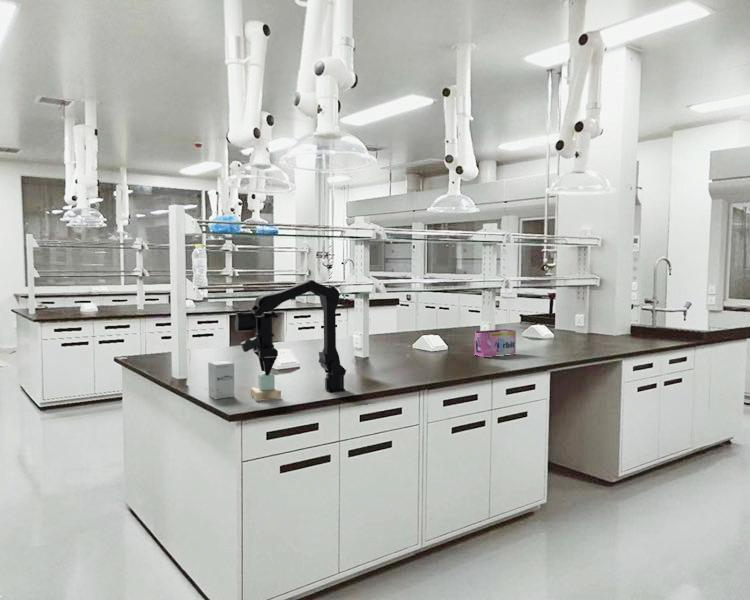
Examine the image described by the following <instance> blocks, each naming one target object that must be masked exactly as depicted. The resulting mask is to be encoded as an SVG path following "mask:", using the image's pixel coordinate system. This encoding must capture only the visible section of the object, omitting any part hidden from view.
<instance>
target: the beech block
mask: <svg viewBox="0 0 750 600" xmlns="http://www.w3.org/2000/svg"><path fill="white" fill-rule="evenodd" d="M251 396H252V397H253V398H254V399H255V400H254V399H253V398H252V397H251ZM250 397H251V398H252V399H253V400H254V402H262V401H261V400H265V401H273V400H272V399H276V400H281V399H282V390H281V389H279V388H278V387H277V386H276V385H275V390H262V391H261V390H260V389H259V386H257V387H256V386H255V387H254V386H253V387H250Z"/></svg>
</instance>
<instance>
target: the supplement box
mask: <svg viewBox="0 0 750 600" xmlns="http://www.w3.org/2000/svg"><path fill="white" fill-rule="evenodd" d="M207 364H208V366H207V367H208V370H207V372H208V396H209V398H212V399H214V400H220V399H227V398H228V397H229V398H235V362H232V361H229V360H222V361H210V362H207Z"/></svg>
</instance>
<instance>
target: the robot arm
mask: <svg viewBox="0 0 750 600" xmlns="http://www.w3.org/2000/svg"><path fill="white" fill-rule="evenodd" d="M309 292H310V293H312V294H314V295H315V296H318V297H319V301H320V305H321V308H322V309H323V349H322V351H319V352H318V356H319V358H318V363H319V365H320V367H321V368H322V369H323V370H324V372H325V374H326V375H325V378H324V389H325V390H326V391H327V392H329V393H332V392H333V393H334V392H344V391H345V392H346V388H345V376H346V373H347V369H346V368H345V367H343V365H342V364H341V360H340V355H339V352H338V349H337V342H336V341H337V340H336V339H337V333H336V332H337V329H336V327H337V322H336V321H337V320H336V310H337V308H338V305H339V302H340V291H339V290H338V289H337V288H336V287H333V286H332V287H331V286H326V285H323V284H321V283H318V282H316V281H315V280H313V279H312V280H311V279H306V280H305V281H304V282H302V283H299V284H296V285H293V286H291V287H288V288H286V289H283V290H281V291H279V292H274V293H268V294H261V295H259V296H258V297H256V299H255V301H254V305H253V306H252V308H251V309H250V311H249V312H241V311H238V312H236V315H235V321H234V329H235V332H237V333H238V332H253V331H254V330H255V329H256V332H255V334H254V336H253V337H250V338H248V339H245V340H244V341H242V342H240V346H241V348H242V351H243V352H244V353H247V352H249V351H250V350H252V351H253V353H254V354H255V355H256V356H257V357H258V361H259V365H260V370H261V372H264V374H265V375H266V376H268V375H269V374H271V370H272V369H273V366H274V364H275V362H276V360H277V358H278V356H279V353H278V352H279V351H278V350H277V349H276V348H275V344H274V337H275V333H274V331H273V330H274V329H273V328H274V327H273V326H274V325H273V323H274V322H273V320H274V319H277V318H278V319H279V315H278V314H277V313H276V311H274V310H275V309H276V308H278V306H280V305H281V304H282V303H283V304H284V302H286V301H289V300H293V299H295V298H297V297H299V296H302V295H305V294H307V293H309Z"/></svg>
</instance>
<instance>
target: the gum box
mask: <svg viewBox="0 0 750 600" xmlns="http://www.w3.org/2000/svg"><path fill="white" fill-rule="evenodd" d="M516 333H517V330H515V329H493V330H475V332H474V356H475V355H478V356H482V357H486V356H496V355H506V354H514V353H515V354H516V350H517V349H516V347H517V346H516V345H517V344H516V342H517V341H516V340H517V339H516V337H517V335H516Z"/></svg>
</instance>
